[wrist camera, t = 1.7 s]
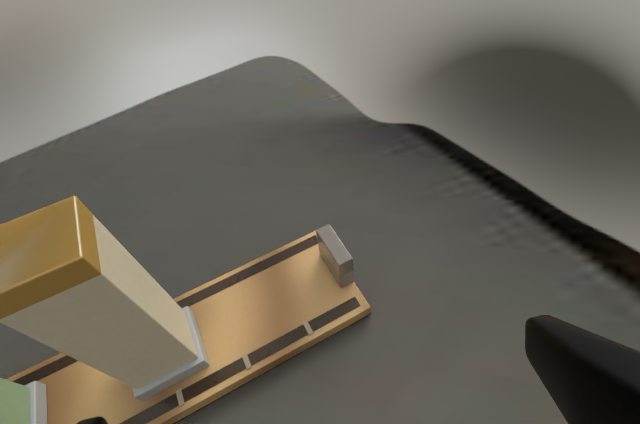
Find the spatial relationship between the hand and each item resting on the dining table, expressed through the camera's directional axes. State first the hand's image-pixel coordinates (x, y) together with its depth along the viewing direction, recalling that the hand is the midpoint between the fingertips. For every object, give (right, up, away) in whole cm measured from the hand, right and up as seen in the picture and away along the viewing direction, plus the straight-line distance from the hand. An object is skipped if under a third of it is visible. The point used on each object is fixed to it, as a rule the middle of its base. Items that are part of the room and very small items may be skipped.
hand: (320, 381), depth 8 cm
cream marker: (-9, -6, +15) cm, 18 cm away
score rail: (-11, -6, +15) cm, 19 cm away
